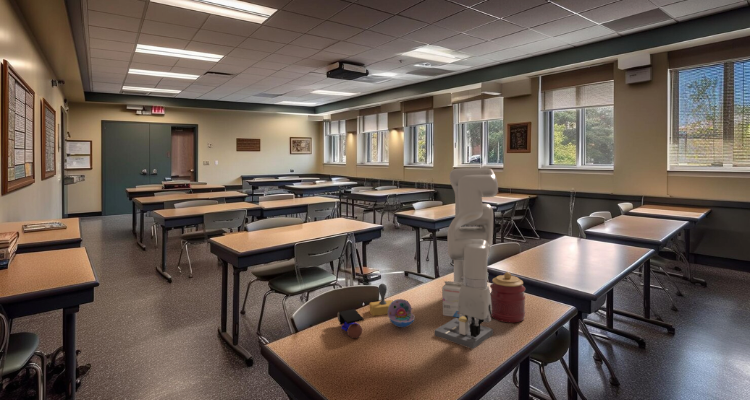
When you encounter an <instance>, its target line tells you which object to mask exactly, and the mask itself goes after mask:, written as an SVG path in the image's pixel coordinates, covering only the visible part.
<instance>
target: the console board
mask: <svg viewBox="0 0 750 400" xmlns="http://www.w3.org/2000/svg"><path fill="white" fill-rule="evenodd" d="M493 335H494V329H493V328H491V327H488V326H484V325H482V324H480V334H479V335H478V336H477V337H474V336H471V332H470V324H469V333H468V334H466V335H463V334H460V333H459V317H453V318H452V319H451V320H449V321H448V322H445V323H444V324H442V325H440V326H439V327H437V328H436V329H434V336H435V337H437V338H440V339H444V340H445V341H449V342H453V343H454V344H458V345H460V346H463V347H466V348H469V349H472V350H474V349H475V348H477V347H478V346H479V345H481V344H482V343H483V342H484V341H486V340H488V339H489V338H490V337H492V336H493Z"/></svg>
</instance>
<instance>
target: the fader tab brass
mask: <svg viewBox="0 0 750 400" xmlns="http://www.w3.org/2000/svg"><path fill="white" fill-rule="evenodd" d="M458 319H459V333H460V334H463V335H466V334H468V333H469V323H468V320H467V319H466V317H464V316H462V317H460V318H459V317H458Z"/></svg>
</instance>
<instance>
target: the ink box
mask: <svg viewBox="0 0 750 400" xmlns="http://www.w3.org/2000/svg"><path fill="white" fill-rule="evenodd" d="M461 284H463V283H460V282H454V281H449V280H448V281H446V280H445V281H444V284H443V286H442V288H441V289H442V290H441V291H442V295H441V296H442V316H446V317H453V318H458V319H459V318H460V312H459V310H458V303H459V293H460V288H461Z"/></svg>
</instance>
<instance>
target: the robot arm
mask: <svg viewBox="0 0 750 400" xmlns="http://www.w3.org/2000/svg"><path fill="white" fill-rule="evenodd" d="M449 183H450V185H451V187H452V190H453V192H454V197H455V198H454V199H455V201H454V203H455V205H454V213H455V214H454V215H455V217H454V218H453V219H452V220H451V222H450V224H449V226H448V229H447V254H448V257H449V258H450V260H453V282H460V283H463V284H461V288H460V293H459V303H458V310H459V312H460V314H461V315H463V316H464V317H466V319H467V320H468V323H469V324H470V332H471V336H474V337H477V336H478V335H479V334H480V325H482V323H490V322H492V316H491V312H492V306H491V295H490V293H491V291H490V286H488V258H489V257H490V255H491V247H492V245H493V238H494V237H493V235H494V210H493V207H492V206H491V204H489V203H483V198H494V197H496V196H497V195H498V190H499V183H498V178H497V176H496V174H495V172H494V170H493V169H492V168H489V167H475V168H474V167H467V168H466V167H462V168H455V169H452V170H451V171H450V172H449Z"/></svg>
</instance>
